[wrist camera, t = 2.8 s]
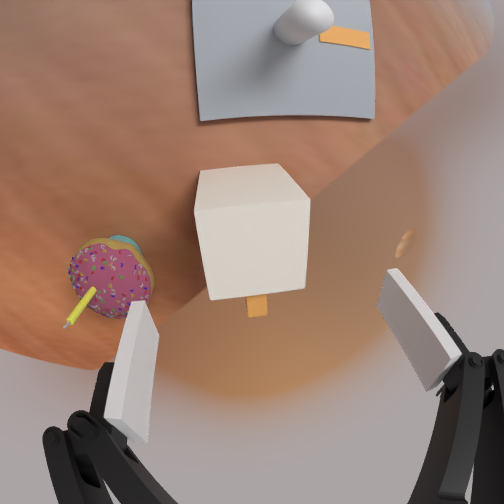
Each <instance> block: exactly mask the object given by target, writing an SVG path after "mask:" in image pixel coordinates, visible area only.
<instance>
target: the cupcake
mask: <svg viewBox="0 0 504 504" xmlns="http://www.w3.org/2000/svg"><path fill="white" fill-rule="evenodd" d="M69 269H70V270H69ZM68 270H69V275H70V280H71V282H72V284H73V288H74V289H75V291H76V295H78V296H79V298H80V302H79V303H78V304H77V306H76V307H75V308H74V310H73V311H72V313H71V314H70V315H69V317H68V318H67V323H66V324H65V326H63V328H66V327H67V326H68V325H69V324H70V325H73V324H74V323H75V321H76V320H77V318H78V317H79V315H80V314H81V313H82V311H83V310H84V308H85V307H86V306H87V307H88V308H90V309H92V310H93V311H95V312H97V313H100V314H103V315H104V316H105V315H106V316H107V317H108V318H109V317H114V318H118V319H121V318H123V319H124V317H127V315H128V312H129V308H130V305H131V302H132V301H144V300H145V302H146V305H147V304H148V303H149V301H150V299H151V296H152V292H153V288H154V284H155V277H154V273H153V270H152V269H151V267H150V265H149V263H148V262H147V261H146V259H145V258H144V257H143V256H142V252H141V250H140V248H139V246H138V245H137V244H136V243H135V242H134V241H133V240H132V239H130V238H128V237H125V236H121V235H115V236H111V237H109V238H94V239H91V240H89V241H88V242H86V243H85V244H83V245H82V246H81V247H80V248H79V249H78V250H77V252H76V253H75V255H74V256H73V257H72V261H71V263H70V267H68Z"/></svg>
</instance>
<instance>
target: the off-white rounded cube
mask: <svg viewBox="0 0 504 504" xmlns="http://www.w3.org/2000/svg"><path fill="white" fill-rule="evenodd" d="M194 215H195V221H196V227H197V233H198V239H199V245H200V250H201V256H202V261H203V267H204V272H205V277H206V282H207V287H208V292H209V297H210V300H219V299H227V298H236V297H243V296H245V297H246V307H247V313H248V317H256V316H264V315H267V294H268V293H275V292H282V291H288V290H296V289H303V288H305V280H306V268H307V267H306V266H307V253H308V238H309V237H308V236H309V219H310V198H309V197H308V196H307V195H306V194H305V193H304V192H303V190H302V189H301V188H300V187H299V186H298V185H297V184H296V182H295V181H294V180H293V179H292V178H291V177H290V176H289V175H288V173H287V172H286V171H285V170H284V169H283V168H282V167H281V166H280V165H279V164H278V163H276V164H262V165H249V166H238V167H228V168H219V169H210V170H202V171H200V175H199V181H198V187H197V194H196V200H195V207H194Z"/></svg>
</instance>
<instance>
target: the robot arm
mask: <svg viewBox="0 0 504 504" xmlns="http://www.w3.org/2000/svg"><path fill="white" fill-rule="evenodd" d="M377 308H378V309H379V311H380V312H381V314H382V315H383V317H384V319H385V320H386V322H387V324H388V325H389V327H390V328H391V330H392V332H393V333H394V335H395V337H396V338H397V340H398V342H399V344H400V345H401V347H402V349H403V350H404V352H405V354H406V356H407V357H408V359H409V360H410V362H411V364H412V366H413V368H414V370H415V372H416V373H417V375H418V377H419V379H420V381H421V383H422V385H423V386H424V388H425V390H426V391H429V390H431V389H433V388H435V387H437V386H438V384H439V383H440V382H441V381H442V380H443V382H444V385H443V386H442V387H441V388H440V390H439V391H438V392H437V394H436V396H438V395H439V394H440V393H441V396H440V397H441V398H440V403H439V408H438V412H437V417H436V421H435V426H434V430H433V433H432V437H431V441H430V444H429V447H428V451H427V454H426V457H425V460H424V463H423V466H422V469H421V472H420V475H419V477H418V480H417V482H416V485H415V487H414V490H413V492H412V495H411V497H410V500H409V502H408V503H407V504H468V502H467V501H466V500H465V497H464V496H465V492H466V489H467V486H468V482H469V479H470V475H471V471H472V467H473V463H474V471H473V484H472V494H471V502H470V504H504V350H502V349H497V350H496V351H495V352H494V353H493V355H492V356H487V357H481V356H480V355H479V354H477V353H476V352H469V351H468V349H467V348H466V346H465V345H464V343H463V342H462V341H461V339H460V338H459V336H458V335H457V334H456V332H454V329H453V328H452V327H451V326H450V324H449V323H448V321H447V320H446V319H445V318H444V317H443V316H442V315H440V314H439V313H433V312H432V311H431V310H430V308H429V307H428V306H427V304H426V303H425V302H424V300H423V299H422V298H421V297H420V295H419V294H418V293H417V292H416V290H415V289H414V288H413V287H412V285H411V284H410V283H409V282H408V281H407V279H406V278H405V277H404V276H403V274H402V273H401V272H400V271H399V270H398V269H397V268H395V269H390V270H387V271H386V275H385V278H384V282H383V285H382V289H381V292H380V296H379V299H378V302H377ZM158 341H159V334H158V332H157V329H156V327H155V324H154V322H153V320H152V317H151V315H150V312H149V310H148V307H147V305H146V302H145V300H144V301H132V302H131V305H130V308H129V312H128V315H127V318H126V322H125V325H124V329H123V333H122V336H121V340H120V344H119V348H118V352H117V356H116V360H115V363H112V362H105V363H104V364H103V366H102V367H101V369H100V370H99V373H98V377H97V382H96V385H95V390H94V393H93V398H92V402H91V407H90V412H89V413H88V412H86V411H84V410H79V411H76V412H74V413H73V414H72V415H71V416H70V418H69V419H68V423H67V427H68V430H66V431H62V430H61V429H60V428H57V427H55V426H53V427H49V428H47V429H46V430H45V432H44V434H43V447H44V451H45V456H46V461H47V465H48V469H49V473H50V477H51V480H52V484H53V487H54V490H55V494H56V497H57V500H58V503H59V504H113V502H112V500H111V498H110V495H109V493H108V491H107V488H106V486H105V483H104V481H105V482H106V484H107V485H108V487H109V488H110V490H111V491H112V492H113V494H114V495H115V497H116V498H117V499H118V501H119V502H120V503H121V504H178V503H177V502H176V501H175V500H174V499H173V498H172V497H171V496H170V495H169V494H168V493H167V492H166V491H165V490H164V489H163V488H162V486H161V485H160V484H159V483H158V482H157V481H156V480H155V479H154V478H153V476H152V475H151V474H150V473H149V472H148V470H147V469H146V468H145V467H144V466H143V464H142V463H141V462H140V460H139V459H138V458H137V457H136V455H135V454H134V453H133V451H132V450H131V449H130V447H129V446H128V445H127V438H128V439H129V440H131V441H132V442H139V443H148V433H149V421H150V409H151V398H152V388H153V379H154V371H155V363H156V355H157V348H158ZM492 385H493V386H494V390H493V391H492V388H491V386H492ZM103 479H104V481H103Z"/></svg>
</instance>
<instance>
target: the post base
mask: <svg viewBox="0 0 504 504" xmlns="http://www.w3.org/2000/svg"><path fill="white" fill-rule="evenodd" d="M192 13H193V33H194V49H195V64H196V77H197V90H198V101H199V112H200V121H207V120H216V119H226V118H237V117H252V116H273V115H323V116H345V117H359V118H370V119H375V61H374V43H373V30H372V20H371V11H370V3H369V0H192Z"/></svg>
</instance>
